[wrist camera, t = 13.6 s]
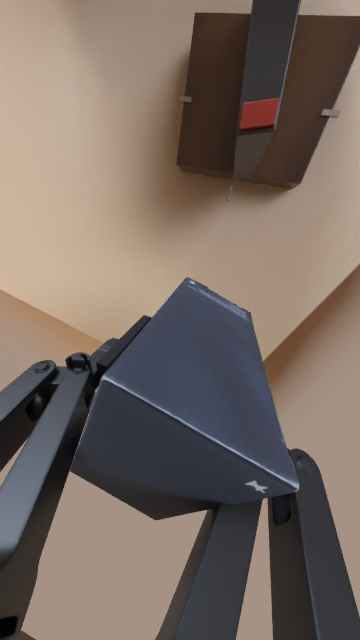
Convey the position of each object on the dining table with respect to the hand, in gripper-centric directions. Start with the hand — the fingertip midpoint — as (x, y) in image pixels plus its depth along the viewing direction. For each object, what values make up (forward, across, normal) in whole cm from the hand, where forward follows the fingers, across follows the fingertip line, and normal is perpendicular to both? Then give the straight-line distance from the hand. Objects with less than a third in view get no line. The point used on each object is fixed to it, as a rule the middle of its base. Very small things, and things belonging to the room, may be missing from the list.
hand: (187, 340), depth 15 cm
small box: (+1, 0, 0) cm, 1 cm away
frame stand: (+15, 0, +20) cm, 25 cm away
